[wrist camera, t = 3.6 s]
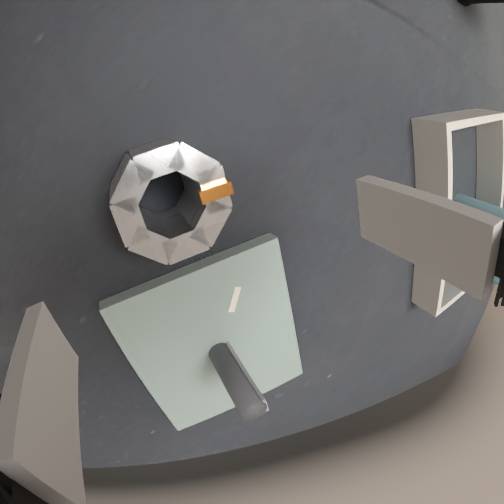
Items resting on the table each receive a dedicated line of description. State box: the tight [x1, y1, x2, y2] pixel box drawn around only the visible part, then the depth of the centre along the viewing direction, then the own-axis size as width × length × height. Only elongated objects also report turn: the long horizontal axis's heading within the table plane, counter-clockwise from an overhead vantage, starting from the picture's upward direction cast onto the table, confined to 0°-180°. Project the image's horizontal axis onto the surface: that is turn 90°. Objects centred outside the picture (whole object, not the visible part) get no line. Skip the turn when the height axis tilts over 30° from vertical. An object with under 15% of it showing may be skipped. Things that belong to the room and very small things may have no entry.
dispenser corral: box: [411, 108, 504, 317], centre depth 38 cm, size 18×26×5 cm
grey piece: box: [109, 138, 234, 265], centre depth 21 cm, size 7×7×7 cm
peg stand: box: [99, 232, 303, 431], centre depth 27 cm, size 16×18×10 cm
